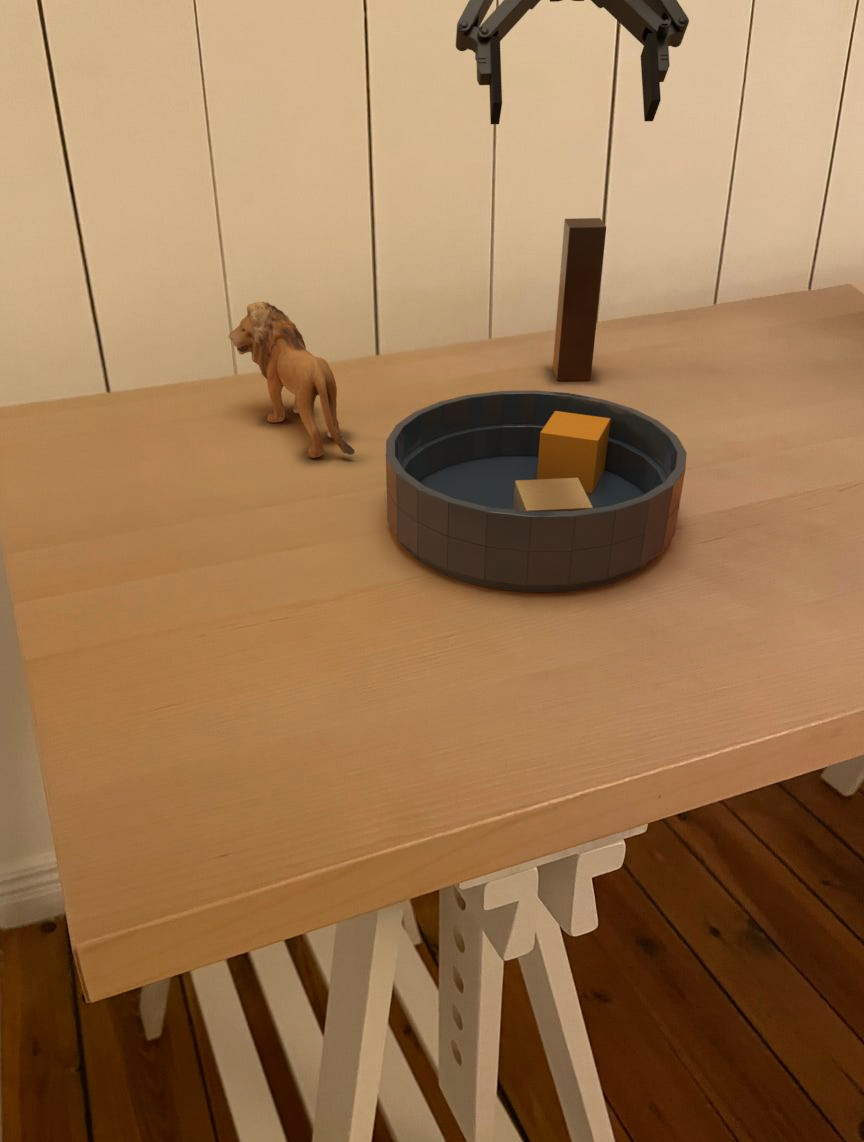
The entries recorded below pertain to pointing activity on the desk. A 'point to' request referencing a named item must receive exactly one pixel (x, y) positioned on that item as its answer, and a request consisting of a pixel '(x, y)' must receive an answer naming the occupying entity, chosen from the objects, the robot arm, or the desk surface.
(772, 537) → the desk surface
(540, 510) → the block maple
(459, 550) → the bowl
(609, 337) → the desk surface
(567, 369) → the dark brown bar
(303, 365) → the lion figurine
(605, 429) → the block mustard
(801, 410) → the desk surface
